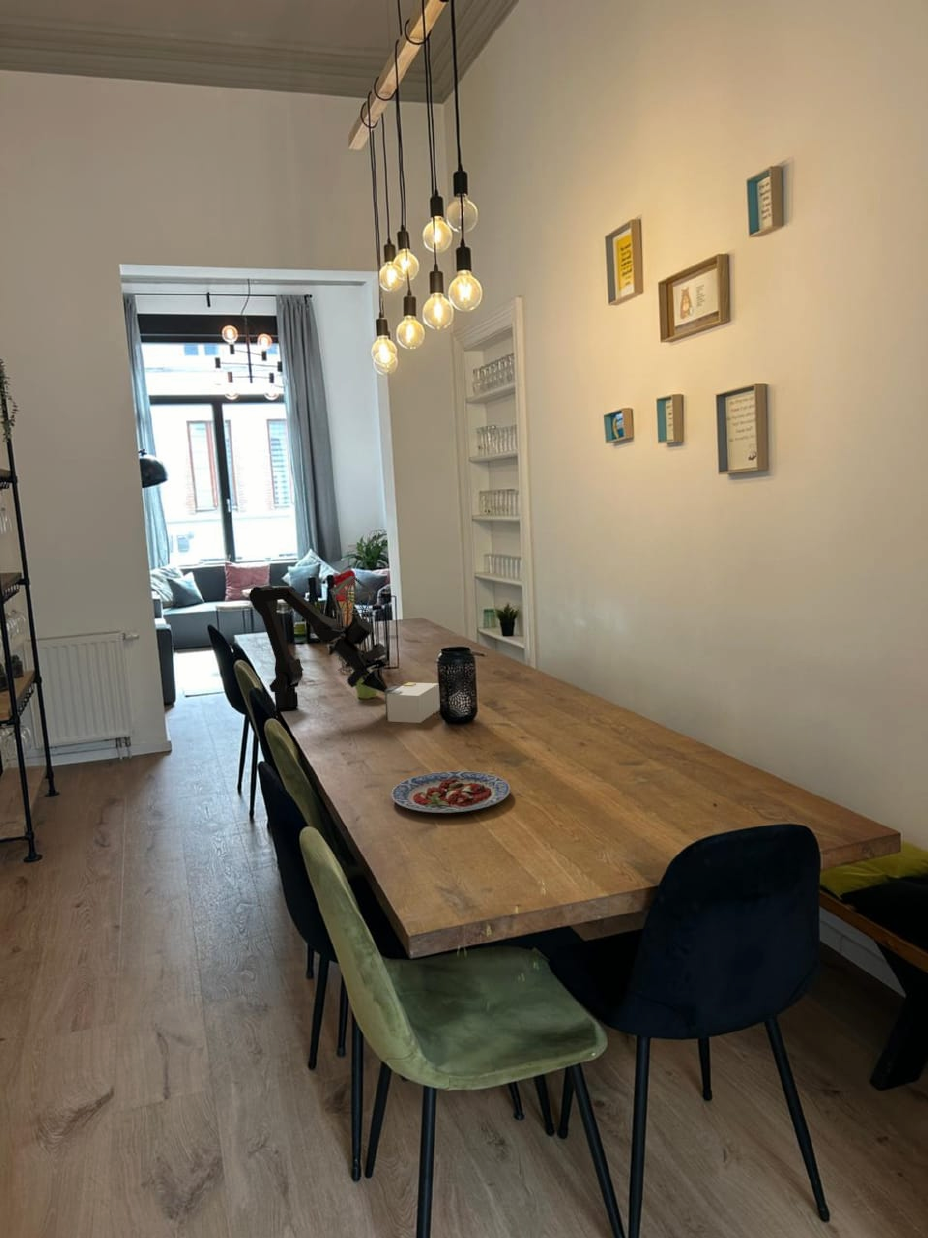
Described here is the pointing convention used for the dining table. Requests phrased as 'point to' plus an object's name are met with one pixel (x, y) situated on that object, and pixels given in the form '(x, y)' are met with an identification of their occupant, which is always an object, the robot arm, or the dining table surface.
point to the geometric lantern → (342, 584)
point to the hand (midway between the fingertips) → (387, 691)
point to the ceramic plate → (450, 791)
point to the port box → (413, 702)
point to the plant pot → (365, 690)
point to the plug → (387, 693)
